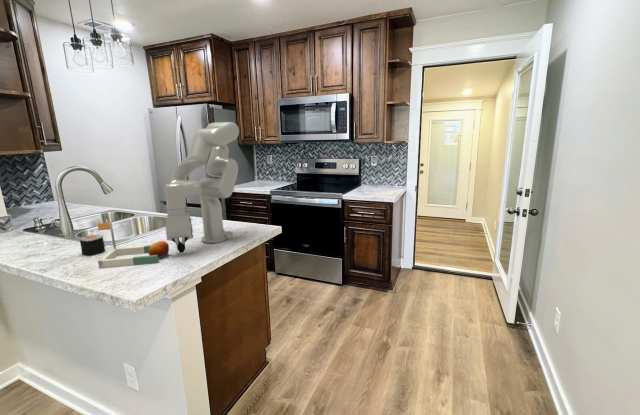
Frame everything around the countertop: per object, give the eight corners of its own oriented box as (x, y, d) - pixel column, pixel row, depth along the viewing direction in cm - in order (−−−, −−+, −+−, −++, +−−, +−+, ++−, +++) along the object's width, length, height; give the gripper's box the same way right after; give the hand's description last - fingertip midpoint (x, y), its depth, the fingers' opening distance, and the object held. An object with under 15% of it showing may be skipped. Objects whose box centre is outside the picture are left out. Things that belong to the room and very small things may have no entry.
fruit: (165, 257, 127) (154, 241, 126) (152, 265, 129) (141, 250, 129) (177, 251, 135) (167, 235, 134) (165, 258, 137) (155, 243, 136)
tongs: (166, 250, 140) (162, 219, 136) (157, 262, 125) (152, 228, 122) (104, 255, 134) (98, 223, 131) (87, 269, 120) (80, 233, 116)
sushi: (89, 257, 133) (86, 239, 131) (79, 254, 136) (75, 237, 135) (108, 251, 140) (106, 234, 138) (98, 248, 143) (95, 232, 142)
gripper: (196, 208, 135) (200, 247, 139) (160, 210, 132) (165, 250, 136) (194, 212, 128) (198, 253, 132) (155, 214, 125) (161, 256, 129)
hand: (181, 251), depth 134 cm, fingers closed
